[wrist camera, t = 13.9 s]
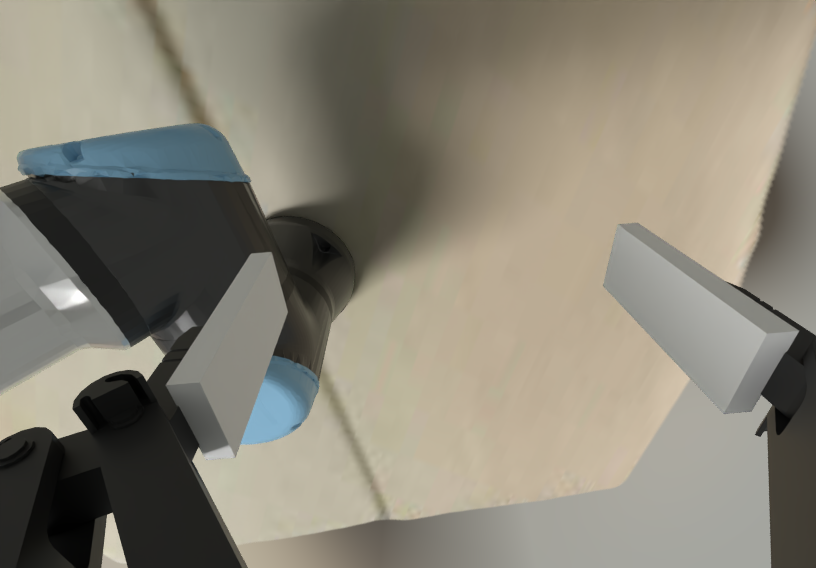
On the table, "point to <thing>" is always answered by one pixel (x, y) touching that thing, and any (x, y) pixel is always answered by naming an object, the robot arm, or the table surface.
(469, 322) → the table surface
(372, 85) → the table surface
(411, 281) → the table surface
